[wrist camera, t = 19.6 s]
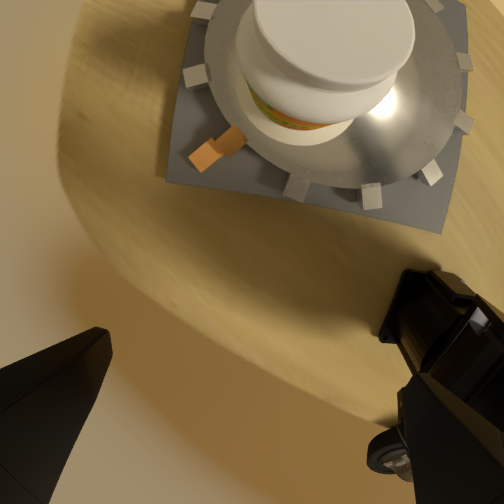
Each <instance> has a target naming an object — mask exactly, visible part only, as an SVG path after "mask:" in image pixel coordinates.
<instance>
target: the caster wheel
mask: <svg viewBox="0 0 504 504" xmlns="http://www.w3.org/2000/svg"><path fill="white" fill-rule="evenodd" d="M407 453H408V452H407V451H406V449H405V448H404V447H403V445H402V443H401V441H400V437H399V432H398V429H397V427H396V428H392V429H389V430H386V431H384V432H382V433H380V434H378V435H377V436H376V437H374V438H373V439H372V440H371V442H370V443H369V446H368V452H367V465H368V467H369V468H370V469H371V470H373V471H375V472H377V473H381V474H397V475H398V476H399V477H400V478H401V479H402V480H404V481H407V482H413V477H412V471H411V465H410V459H409V458H408V457H407Z"/></svg>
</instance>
